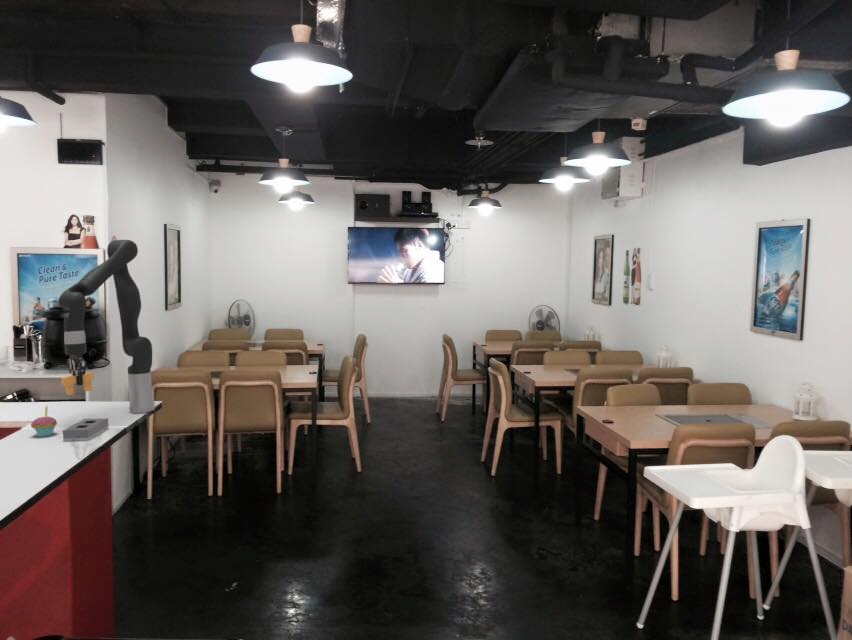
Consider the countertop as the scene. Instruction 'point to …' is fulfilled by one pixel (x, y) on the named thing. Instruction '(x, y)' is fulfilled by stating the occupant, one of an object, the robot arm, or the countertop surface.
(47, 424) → the cupcake
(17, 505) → the countertop surface
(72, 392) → the orange arch block
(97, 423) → the metal panel
